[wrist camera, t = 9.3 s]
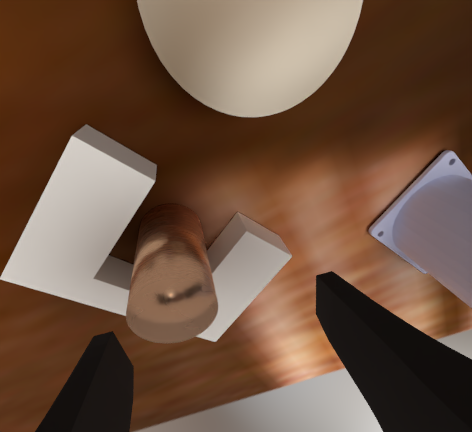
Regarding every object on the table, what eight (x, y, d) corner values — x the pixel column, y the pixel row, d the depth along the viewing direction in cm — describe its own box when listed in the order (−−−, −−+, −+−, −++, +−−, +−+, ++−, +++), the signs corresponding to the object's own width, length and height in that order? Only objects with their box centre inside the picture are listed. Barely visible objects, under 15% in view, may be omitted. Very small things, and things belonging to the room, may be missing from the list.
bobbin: (318, 5, 14) (407, -27, 9) (236, 124, 16) (270, 154, 11) (202, -135, 11) (236, -314, 6) (117, 34, 13) (85, 16, 8)
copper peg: (212, 220, 19) (235, 296, 13) (181, 263, 20) (188, 350, 14) (159, 192, 17) (155, 265, 11) (128, 241, 18) (109, 330, 12)
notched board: (279, 235, 20) (292, 256, 18) (210, 315, 23) (215, 342, 21) (86, 124, 14) (72, 135, 12) (20, 251, 17) (-1, 279, 14)
